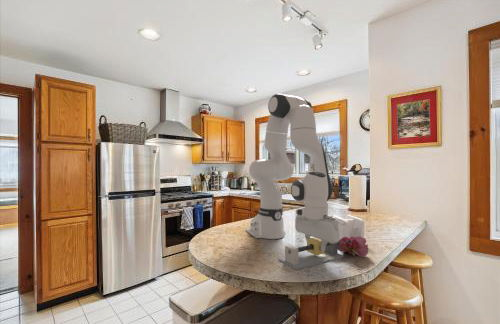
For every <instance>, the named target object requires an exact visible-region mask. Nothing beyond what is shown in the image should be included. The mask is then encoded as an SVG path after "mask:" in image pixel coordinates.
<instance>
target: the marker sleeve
mask: <svg viewBox="0 0 500 324" xmlns="http://www.w3.org/2000/svg"><path fill="white" fill-rule="evenodd" d="M308 245H314V249H311V250H306V252H310V253H312V254H314V255H321V254H324V251H323V252H322V251H319V246H321V245H322V243H321V240H320V239H318V238H315V237H310V238H309V239H307V241H306V246H308Z"/></svg>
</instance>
